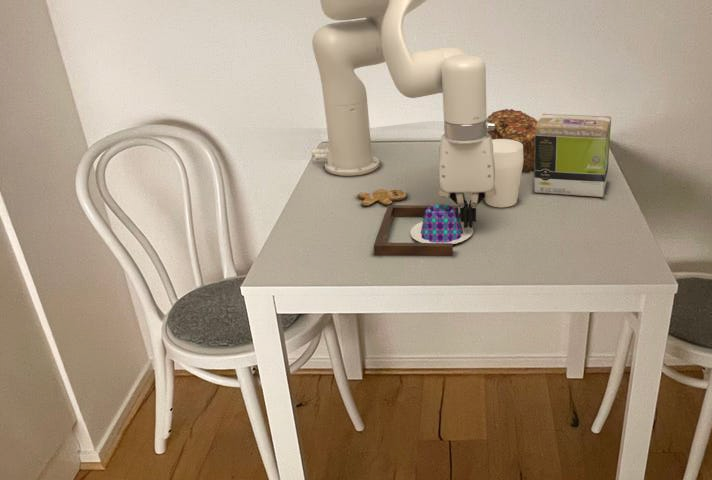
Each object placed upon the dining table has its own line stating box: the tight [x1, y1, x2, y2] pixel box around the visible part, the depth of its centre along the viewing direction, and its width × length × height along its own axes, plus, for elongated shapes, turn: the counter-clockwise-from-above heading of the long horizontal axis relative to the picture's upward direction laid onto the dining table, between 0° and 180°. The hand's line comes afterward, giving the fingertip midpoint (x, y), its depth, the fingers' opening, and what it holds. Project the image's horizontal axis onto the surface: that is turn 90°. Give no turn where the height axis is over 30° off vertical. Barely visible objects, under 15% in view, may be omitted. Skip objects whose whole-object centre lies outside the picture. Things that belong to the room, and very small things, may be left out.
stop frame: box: [373, 204, 460, 257], centre depth 145 cm, size 14×18×2 cm
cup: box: [484, 139, 524, 209], centre depth 155 cm, size 9×9×12 cm
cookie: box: [357, 188, 407, 207], centre depth 160 cm, size 8×1×10 cm
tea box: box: [533, 113, 612, 198], centre depth 161 cm, size 15×10×15 cm, turn 77°
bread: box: [487, 108, 539, 173], centre depth 178 cm, size 19×11×10 cm, turn 20°
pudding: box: [409, 203, 474, 245], centre depth 144 cm, size 12×12×5 cm
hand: (468, 224), depth 144 cm, fingers closed
